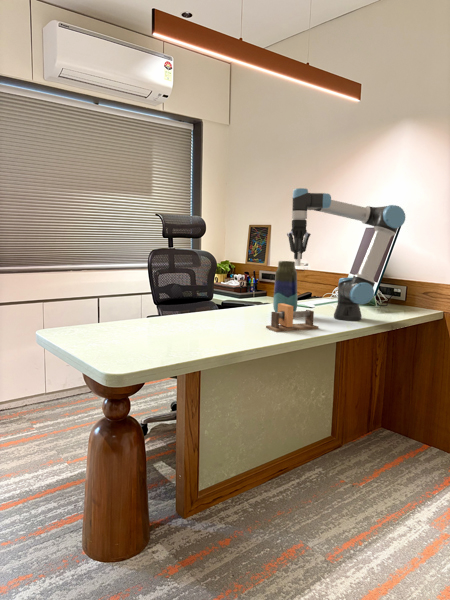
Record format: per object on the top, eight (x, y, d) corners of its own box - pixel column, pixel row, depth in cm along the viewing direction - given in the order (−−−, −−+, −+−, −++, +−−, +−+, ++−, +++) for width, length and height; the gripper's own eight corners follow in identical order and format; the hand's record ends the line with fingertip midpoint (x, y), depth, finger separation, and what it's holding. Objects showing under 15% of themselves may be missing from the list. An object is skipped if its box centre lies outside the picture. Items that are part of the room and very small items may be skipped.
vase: (268, 315, 266) (270, 261, 261) (279, 312, 277) (280, 260, 273) (291, 318, 258) (293, 262, 254) (300, 314, 270) (302, 261, 266)
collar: (282, 323, 232) (283, 303, 231) (292, 326, 223) (293, 306, 222) (277, 323, 231) (277, 303, 230) (287, 327, 222) (287, 306, 220)
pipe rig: (307, 325, 238) (308, 308, 237) (318, 328, 229) (319, 311, 227) (266, 328, 229) (266, 310, 228) (275, 331, 220) (276, 313, 219)
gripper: (306, 220, 242) (304, 265, 245) (284, 219, 237) (283, 265, 240) (314, 219, 235) (312, 265, 238) (291, 218, 230) (290, 266, 233)
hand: (297, 265), depth 239 cm, fingers closed
